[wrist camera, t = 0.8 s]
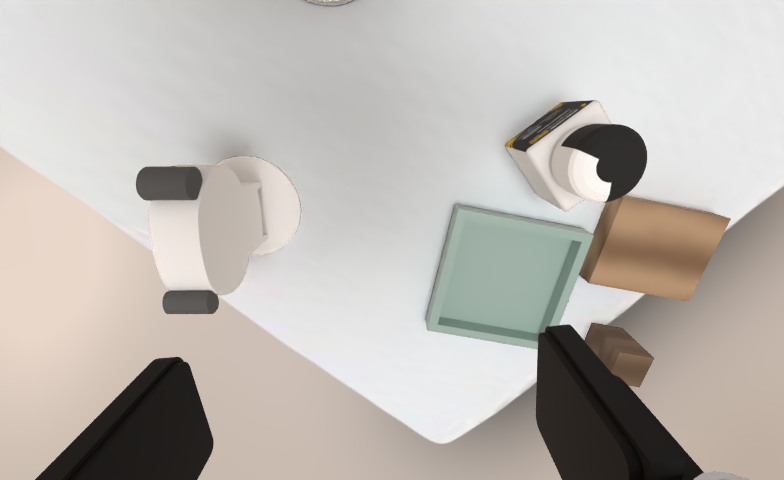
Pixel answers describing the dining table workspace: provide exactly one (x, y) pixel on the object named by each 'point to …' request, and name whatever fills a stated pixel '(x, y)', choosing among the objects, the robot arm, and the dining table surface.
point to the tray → (504, 276)
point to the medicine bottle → (579, 155)
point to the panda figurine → (215, 225)
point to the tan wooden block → (652, 247)
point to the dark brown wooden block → (619, 353)
